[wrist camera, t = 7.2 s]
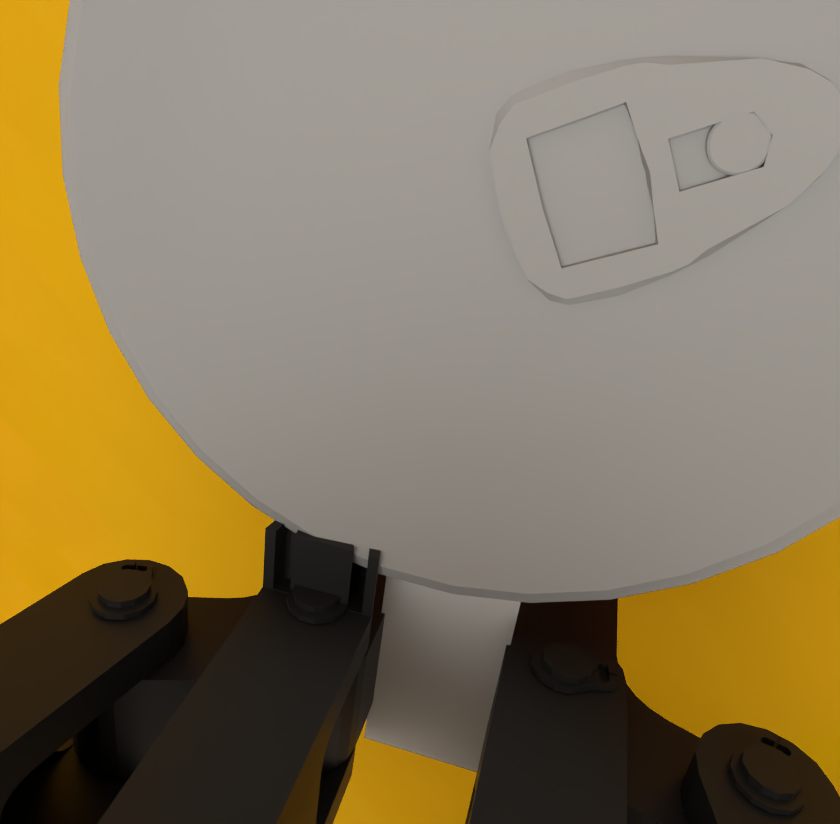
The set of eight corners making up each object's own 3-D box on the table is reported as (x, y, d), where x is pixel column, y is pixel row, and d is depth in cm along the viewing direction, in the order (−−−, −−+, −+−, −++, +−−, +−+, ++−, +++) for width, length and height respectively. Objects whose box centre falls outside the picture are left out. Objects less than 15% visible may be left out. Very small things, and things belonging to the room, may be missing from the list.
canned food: (858, 174, 15) (1310, 381, 5) (511, 364, 18) (375, 708, 8) (669, -211, 13) (790, -1027, 3) (326, 76, 16) (-113, 86, 7)
